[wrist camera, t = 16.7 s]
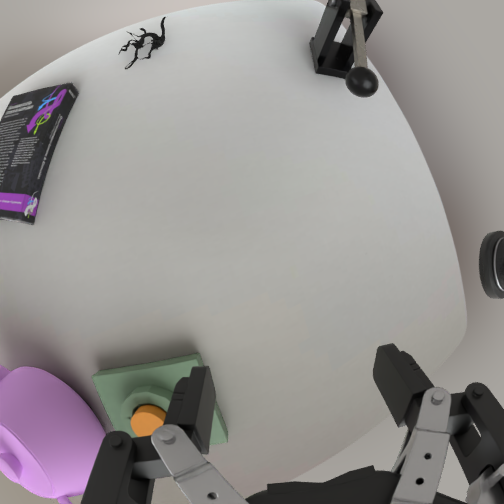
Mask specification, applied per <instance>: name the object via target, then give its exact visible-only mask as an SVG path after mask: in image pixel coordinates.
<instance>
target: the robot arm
mask: <svg viewBox="0 0 504 504" xmlns="http://www.w3.org/2000/svg"><path fill="white" fill-rule="evenodd" d="M492 269H493V276H494V280H495V283H496V285H497V287H498V289H499V290H501V291H504V237H503V238H499V239H498V240H497V242H496V244H495V246H494V250H493V256H492ZM373 378H374V381H375V383H376V385H377V387H378V389H379V391H380V393H381V395H382V396H383V398H384V400H385V402H386V404H387V406H388V408H389V410H390V412H391V414H392V416H393V418H394V420H395V422H396V424H397V426H398V427H402V426H405V425H407V427H408V430H407V432H406V435H405V438H404V441H403V444H402V447H401V450H400V452H399V455H398V457H397V460H396V462H395V464H394V466H393V468H392V470H391V472H390V471H375V469H374V466H373V465H372V466H368V467H365V468H361V469H357V470H353V471H349V472H347V473H345V474H343V475H340V476H338V477H336V478H334V479H331V480H329V481H326V482H324V483H312V482H285V483H274V484H267V490H264V491H261V492H258V493H256V494H254V495H252V496H250V497H248V498H246V499H244V498H243V497H242V496H241V495H240V494H239V493H238V492H237V491H236V490H235V489H234V488H233V487H232V486H231V485H230V484H229V483H228V482H227V480H226V479H225V478H224V477H223V476H222V475H221V474H220V473H219V472H218V470H217V469H216V468H215V467H214V466H213V465H212V464H211V463H210V462H207V460H206V459H205V458H204V457H203V456H202V454H208V452H209V445H210V437H211V429H212V422H213V415H214V408H215V400H216V395H215V388H214V384H213V380H212V376H211V372H210V368H209V366H193V367H192V369H191V373H190V376H189V377H182V378H181V379H180V380H179V381H178V382H177V383H176V385H175V388H174V391H173V394H172V397H171V401H170V404H169V407H168V410H167V413H166V417H165V420H164V423H163V425H162V426H160V427H158V428H157V429H155V430H154V432H153V433H152V435H148V436H142V437H133V438H131V436H130V435H129V434H128V433H126V432H124V431H113V432H110V433H108V434H107V435H106V436H105V437H104V438H103V440H102V443H101V446H100V448H99V451H98V454H97V457H96V459H95V462H94V465H93V468H92V470H91V473H90V476H89V479H88V482H87V485H86V488H85V491H84V494H83V498H82V501H81V504H151V500H152V494H153V488H154V482H155V479H156V478H164V477H171V476H173V478H174V480H175V482H176V483H177V485H178V486H179V488H180V489H181V490H182V492H183V493H184V495H185V496H186V497H187V499H188V500H189V501H190V503H191V504H504V409H503V408H502V406H501V405H500V404H499V402H498V401H497V399H496V398H495V397H494V395H493V394H492V393H491V391H490V390H489V389H488V388H487V387H486V386H485V385H484V384H482V383H478V382H477V383H472V384H469V385H468V386H467V388H466V390H465V392H463V393H455V394H450V393H449V392H448V391H447V390H445V389H443V388H440V387H434V385H433V384H432V383H431V381H430V380H429V379H428V377H427V376H426V375H425V373H424V372H423V371H422V369H420V367H419V365H418V364H416V361H415V360H414V359H413V357H412V356H411V355H409V354H408V353H406V352H404V351H401V352H400V351H399V350H398V348H397V347H396V346H395V344H393V343H392V344H387V345H383V346H379V347H378V349H377V353H376V358H375V363H374V368H373ZM473 423H475V425H476V427H477V428H478V430H479V432H480V434H481V437H480V436H479V434H478V432H477V430H476V429H475V427H474V425H473ZM449 442H450V444H451V446H452V448H453V450H454V452H455V454H456V456H457V458H458V460H459V463H460V465H461V467H462V469H463V471H464V473H465V476H466V478H467V480H468V483H469V485H470V486H469V488H468V491H467V497H466V502H467V503H465V502H462V501H460V500H457V499H454V498H451V497H449V496H446V495H444V494H441V493H439V492H437V488H438V485H439V481H440V478H441V474H442V470H443V467H444V463H445V458H446V454H447V449H448V444H449Z"/></svg>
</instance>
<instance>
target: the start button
mask: <svg viewBox="0 0 504 504" xmlns="http://www.w3.org/2000/svg"><path fill="white" fill-rule="evenodd" d="M165 417H166V412H165V411H164V410H163V409H161V408H160V407H158V406H155V405H143V406H141V407H139V408H138V409H137V411H136V412H135V414H134V415H133V416H132V418H131V427H132V430H133V431H134V433H135V434H136V435H137V436H138V437H142V436H148V435H152V433H153V432H154V430H155V429H157V428H158V427H160V426H162V425H163V423H164V420H165Z"/></svg>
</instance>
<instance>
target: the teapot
mask: <svg viewBox="0 0 504 504" xmlns="http://www.w3.org/2000/svg"><path fill="white" fill-rule="evenodd" d="M105 436H106V433H105V431H104V429H103V427H102V426H101V424H100V422H99V420H98V419H97V417H96V415H95V414H94V413H93V411H92V410H91V408H90V407H89V406H88V405H87V404H86V402H85V401H84V400H83V399H82V398H81V397H80V396H79V395H78V394H77V393H76V392H75V391H74V390H73V389H72V388H70V387H69V386H68V385H67V384H66V383H64V382H63V381H61V380H60V379H58V378H57V377H55V376H54V375H52V374H50V373H49V372H46V371H44V370H42V369H39V368H35V367H28V366H24V367H19V368H17V369H15V370H12V371H9V370H8V369H6V368H5V367H3V366H1V365H0V470H1V471H2V472H3V473H4V475H5V476H7V477H8V478H9V479H10V480H11V481H13V482H15V483H20V484H21V485H22V486H23V487H25V488H26V489H27V490H29V491H30V492H32V493H34V494H36V495H38V496H41V497H45V498H57V500H58V502H59V503H60V504H72V503H71V502H70V501H69V499H68V498H67V497H73V496H77V495H81V494H84V491H85V488H86V485H87V482H88V479H89V476H90V473H91V470H92V468H93V465H94V462H95V459H96V457H97V454H98V451H99V448H100V446H101V443H102V440H103V438H104V437H105Z"/></svg>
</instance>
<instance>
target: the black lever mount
mask: <svg viewBox="0 0 504 504" xmlns="http://www.w3.org/2000/svg"><path fill="white" fill-rule="evenodd" d="M365 2H366V7H367V12H368V14H367V15H366V16H365V17H364V18H363V19H362V24H363V31H364V39H365V42H366V41H367V39H368V38H369V36H370V34H371V33H372V31H373V29H374V27H375V26H376V24H377V22H378V21H379V19H380V17H381V16H382V14H383V11H382V10H381V8H380V7H379V5H378V4H377V2H376V1H375V0H365ZM350 3H351V1H350V0H328V3H327V6H326V8H325V11H324V14H323V16H322V19H321V22H320V24H319V27H318V30H317V32H316V35H315V38H314V37H312V38H311V40H310V43H309V44H310V48H311V53H312V57H313V62H314V67H315V72H316V73H317V74H323V75H329V76H334V77H339V78H344V79H346V75H347V73H348V71H349V70H350V69H351V67H352V65H353V63H354V50H353V40H352V31H351V24H350V26H349V28H348V30H347V32H346V34H345V36H344V38H343V40H342V42H341V43H339V42H334V39H335V36H336V34H337V32H338V30H339V28H340V25H341V23H342V21H343V19H344V17H345V14H346V12H347V10H348V8H349V6H350Z"/></svg>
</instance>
